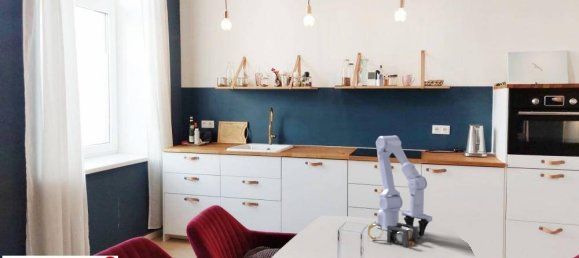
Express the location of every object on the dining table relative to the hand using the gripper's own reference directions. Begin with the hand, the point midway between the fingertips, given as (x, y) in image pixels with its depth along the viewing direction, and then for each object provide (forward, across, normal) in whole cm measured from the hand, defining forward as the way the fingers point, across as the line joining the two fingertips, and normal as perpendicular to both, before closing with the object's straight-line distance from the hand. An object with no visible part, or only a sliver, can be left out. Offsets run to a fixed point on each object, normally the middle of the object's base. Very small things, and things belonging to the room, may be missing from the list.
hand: (416, 234), depth 211 cm
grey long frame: (+2, 0, +6) cm, 6 cm away
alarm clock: (+2, +10, +16) cm, 19 cm away
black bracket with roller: (+2, 0, +10) cm, 11 cm away
